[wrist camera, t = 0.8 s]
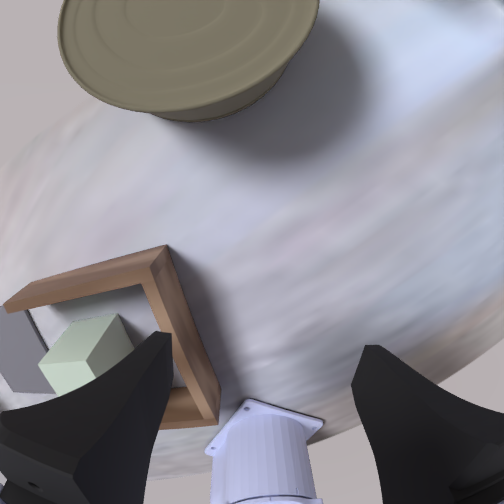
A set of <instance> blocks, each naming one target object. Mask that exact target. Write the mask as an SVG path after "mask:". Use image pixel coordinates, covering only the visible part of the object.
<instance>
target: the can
mask: <svg viewBox="0 0 504 504" xmlns="http://www.w3.org/2000/svg"><path fill="white" fill-rule="evenodd" d="M318 9H319V0H64V1H63V4H62V7H61V10H60V15H59V20H58V46H59V50H60V54H61V57H62V60H63V62H64V65H65V67H66V69H67V70H68V72H69V74H70V75H71V76H72V77H73V79H74V80H75V81H76V82H77V83H78V84H79V85H80V86H81V88H83V89H84V90H85V91H87V92H88V93H89V94H90V95H92V96H94V97H95V98H97V99H99V100H101V101H103V102H105V103H107V104H110V105H113V106H116V107H119V108H122V109H126V110H131V111H135V112H144V113H151V114H153V115H155V116H158V117H161V118H165V119H169V120H173V121H180V122H202V121H210V120H215V119H219V118H223V117H226V116H229V115H232V114H234V113H237V112H239V111H241V110H243V109H245V108H247V107H248V106H250V105H252V104H253V103H255V102H256V101H258V100H259V99H260V98H262V97H263V96H264V95H265V94H266V93H267V92H268V91H269V90H270V89H271V88H272V87H273V86H274V85H275V84H276V82H277V81H278V80H279V78H280V77H281V75H282V74H283V72H284V70H285V68H286V66H287V64H288V62H289V61H290V60H291V59H292V58H293V56H294V55H295V54H296V53H297V52H298V51H299V49H300V48H301V46H302V45H303V43H304V42H305V41H306V39H307V37H308V35H309V33H310V32H311V30H312V28H313V25H314V22H315V20H316V17H317V13H318Z"/></svg>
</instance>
